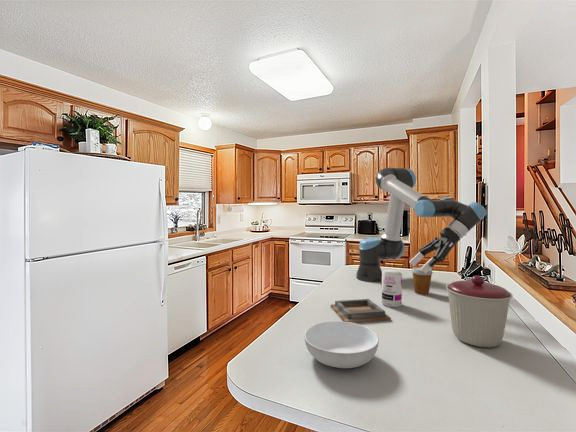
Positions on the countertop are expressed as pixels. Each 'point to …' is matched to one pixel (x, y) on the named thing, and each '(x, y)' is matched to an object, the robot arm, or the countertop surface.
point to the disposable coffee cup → (421, 280)
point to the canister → (478, 311)
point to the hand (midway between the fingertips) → (416, 267)
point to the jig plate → (359, 311)
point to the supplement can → (391, 288)
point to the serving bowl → (341, 343)
